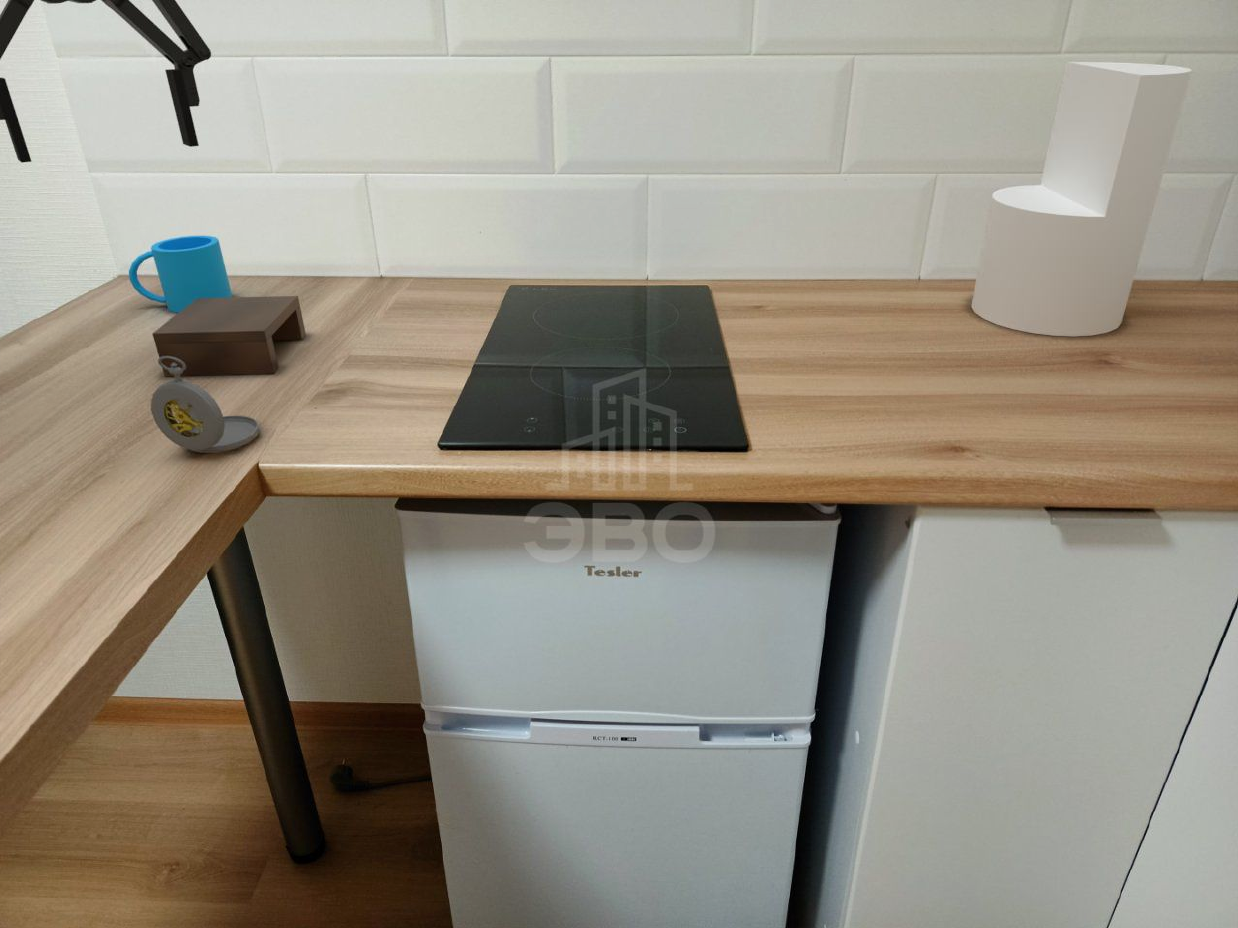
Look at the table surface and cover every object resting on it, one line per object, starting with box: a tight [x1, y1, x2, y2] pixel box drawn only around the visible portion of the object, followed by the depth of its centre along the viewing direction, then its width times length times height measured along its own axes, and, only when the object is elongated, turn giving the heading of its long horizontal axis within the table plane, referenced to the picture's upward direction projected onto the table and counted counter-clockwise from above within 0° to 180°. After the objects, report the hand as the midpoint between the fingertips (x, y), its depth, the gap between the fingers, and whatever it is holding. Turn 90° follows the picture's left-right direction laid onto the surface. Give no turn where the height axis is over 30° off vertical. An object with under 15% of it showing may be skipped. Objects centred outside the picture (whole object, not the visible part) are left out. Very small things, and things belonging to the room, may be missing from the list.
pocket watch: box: [150, 356, 260, 454], centre depth 77 cm, size 8×8×10 cm
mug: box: [128, 235, 233, 314], centre depth 114 cm, size 12×8×8 cm
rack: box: [152, 295, 307, 377], centre depth 99 cm, size 12×12×5 cm
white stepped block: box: [970, 61, 1193, 337], centre depth 101 cm, size 17×17×28 cm
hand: (111, 153), depth 78 cm, fingers open, 13 cm apart
